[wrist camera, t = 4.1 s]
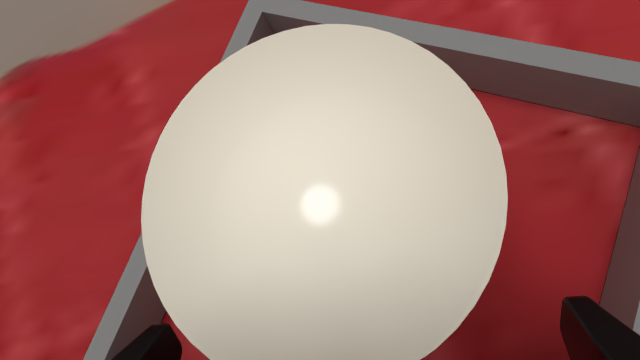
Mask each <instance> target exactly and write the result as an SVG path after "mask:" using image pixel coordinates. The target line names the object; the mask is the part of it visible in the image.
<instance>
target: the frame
mask: <svg viewBox="0 0 640 360" xmlns="http://www.w3.org/2000/svg"><path fill="white" fill-rule="evenodd" d="M320 24H350V25H358V26H365V27H371V28H375V29H379V30H383V31H386V32H390V33H393V34H395V35H398V36H400V37H403V38H405V39H408V40H410V41H412V42H414V43H416V44H417V45H419V46H421V47H423V48H424V49H426V50H428V51H430V52H431V53H432V54H434V55H435V56H436V57H438V58H439V59H440V60H442V61H443V62H444V63H446V64H447V65H448V66H449V67H450V68H451V69H452V70H453V71H454V72H455V73H456V74H457V75H458V76H459V77H460V78H461V79H462V80H463V81H464V82H465V83H466V84H467V85H468V87H469V88H470V89H474V90H479V91H483V92H488V93H492V94H496V95H501V96H505V97H510V98H514V99H518V100H523V101H527V102H532V103H536V104H541V105H545V106H549V107H554V108H558V109H563V110H567V111H572V112H576V113H580V114H585V115H589V116H594V117H598V118H603V119H607V120H611V121H616V122H620V123H625V124H629V125H633V126H638V127H640V62H635V61H629V60H624V59H618V58H613V57H607V56H602V55H596V54H591V53H585V52H580V51H575V50H569V49H564V48H558V47H553V46H547V45H542V44H536V43H531V42H525V41H520V40H514V39H509V38H503V37H498V36H492V35H487V34H481V33H476V32H471V31H465V30H460V29H454V28H449V27H443V26H438V25H432V24H427V23H421V22H416V21H410V20H405V19H399V18H394V17H388V16H383V15H377V14H372V13H367V12H361V11H356V10H350V9H345V8H339V7H334V6H328V5H323V4H317V3H312V2H306V1H301V0H249V1H248V3H247V5H246V8H245V10H244V12H243V14H242V16H241V18H240V21H239V23H238V25H237V27H236V29H235V31H234V34H233V36H232V38H231V40H230V42H229V44H228V47H227V49H226V51H225V53H224V55H223V57H222V60H221V62H222V61H224V60H225V59H226V58H227V57H229V56H231V55H232V54H234V53H236V52H237V51H239V50H241V49H242V48H244V47H246V46H248V45H250V44H252V43H254V42H256V41H258V40H260V39H262V38H265V37H268V36H271V35H273V34H276V33H279V32H282V31H285V30H290V29H294V28H299V27H303V26H311V25H320ZM221 62H220V63H221ZM599 305H600V306H601V307H602V308H604V309H605V310H606V311H608V312H609V313H610V314H612V315H613V316H615V317H616V318H617V319H619V320H620V321H621V322H623V323H624V324H625V325H627V326H628V327H629V328H631V329H632V330H633V331H635V332H636V333H637V334H639V335H640V148H639V152H638V156H637V160H636V164H635V168H634V171H633V175H632V179H631V183H630V187H629V191H628V195H627V199H626V203H625V207H624V210H623V214H622V218H621V222H620V226H619V230H618V234H617V238H616V242H615V245H614V249H613V253H612V257H611V261H610V265H609V269H608V273H607V277H606V281H605V284H604V288H603V292H602V296H601V300H600V304H599ZM165 312H166V309H165V308H164V306H163V304H162V302H161V300H160V298H159V296H158V293H157V291H156V289H155V287H154V285H153V282H152V279H151V276H150V272H149V269H148V266H147V263H146V257H145V252H144V247H143V240H142V233H141V235H140V237H139V240H138V242H137V244H136V246H135V248H134V251H133V253H132V255H131V257H130V259H129V261H128V264H127V266H126V268H125V270H124V272H123V274H122V277H121V279H120V281H119V283H118V285H117V287H116V290H115V292H114V294H113V296H112V298H111V300H110V303H109V305H108V307H107V309H106V311H105V313H104V316H103V318H102V320H101V322H100V324H99V326H98V329H97V331H96V333H95V335H94V337H93V339H92V342H91V344H90V346H89V348H88V350H87V352H86V355H85V357H84V359H83V360H111V359H112V358H113V357H115V356H116V355H117V354H118V353H119V352H120V351H121V350H123V349H124V348H125V347H126V346H127V345H128V344H130V343H131V342H132V341H133V340H134V339H135V338H136V337H138V336H139V335H140V334H141V333H142V332H143V331H145V330H146V329H147V328H148V327H149V326H151V325H153V324H160V323H161V321H162V319H163V317H164V314H165Z"/></svg>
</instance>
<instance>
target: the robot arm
mask: <svg viewBox="0 0 640 360" xmlns="http://www.w3.org/2000/svg"><path fill="white" fill-rule="evenodd" d="M560 330H561V334H562V337H563V340H564V343H565V346H566V349H567V351H568V354H569V357H570V360H640V335H639V334H637V333H636V332H635V331H633V330H632V329H631V328H629V327H628V326H627V325H625V324H624V323H623V322H621V321H620V320H619V319H617V318H616V317H615V316H613V315H612V314H610V313H609V312H608V311H606V310H605V309H604V308H602V307H601V306H600V305H598V304H597V303H596V302H594V301H593V300H592V299H590V298H588V297H586V296H571V297H565V298H564V299H563V301H562V309H561V319H560ZM181 355H182V346H181V343H180V341H179V339H178V338H177V336H176V334H175V333H174V331H173V329H172V327H171V326H170V325H169V324H167V323H161V324H153V325H151V326H149V327H148V328H147V329H146V330H145V331H143V332H142V333H141V334H140V335H139V336H138V337H136V338H135V339H134V340H133V341H132V342H131V343H130V344H128V345H127V346H126V347H125V348H124V349H123V350H121V351H120V352H119V353H118V354H117V355H116V356H115V357H113V358H112V359H111V360H180V359H181Z"/></svg>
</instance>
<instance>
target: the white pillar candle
mask: <svg viewBox="0 0 640 360" xmlns="http://www.w3.org/2000/svg"><path fill="white" fill-rule="evenodd" d="M507 203H508V195H507V180H506V170H505V166H504V161H503V156H502V152H501V147H500V144H499V142H498V139H497V136H496V134H495V131H494V128H493V126H492V123H491V121H490V119H489V118H488V116H487V114H486V112H485V110H484V108H483V107H482V105H481V103H480V101H479V100H478V99H477V97H476V96H475V95H474V93H473V92H472V91H471V89H470V88H469V87H468V85H467V84H466V83H465V82H464V81H463V80H462V79H461V78H460V77H459V76H458V75H457V74H456V73H455V72H454V71H453V70H452V69H451V68H450V67H449V66H448V65H447V64H446V63H444V62H443V61H442V60H440V59H439V58H438V57H436V56H435V55H434V54H432V53H431V52H430V51H428V50H426V49H424V48H423V47H421V46H419V45H417V44H416V43H414V42H412V41H410V40H408V39H405V38H403V37H400V36H398V35H395V34H393V33H390V32H386V31H383V30H379V29H375V28H371V27H365V26H358V25H350V24H320V25H311V26H303V27H299V28H294V29H290V30H285V31H282V32H279V33H276V34H273V35H271V36H268V37H265V38H262V39H260V40H258V41H256V42H254V43H252V44H250V45H248V46H246V47H244V48H242V49H241V50H239V51H237V52H236V53H234V54H232V55H231V56H229V57H227V58H226V59H225V60H224V61H222V62H221V63H220V64H218V65H217V66H216V67H214V68H213V69H212V70H211V71H209V72H208V73H207V74H206V75H205V76H204V77H203V78H202V79H201V80H200V81H199V82H198V83H197V84H196V85H195V86H194V87H193V88H192V89H191V91H190V92H189V93H188V94H187V95H186V96H185V98H184V99H183V100H182V101H181V103H180V104H179V106H178V107H177V109H176V110H175V111H174V113H173V114H172V116H171V117H170V119H169V121H168V123H167V124H166V126H165V128H164V130H163V132H162V134H161V136H160V138H159V140H158V143H157V145H156V147H155V150H154V152H153V155H152V158H151V161H150V165H149V168H148V172H147V175H146V180H145V185H144V191H143V197H142V214H141V225H142V240H143V247H144V252H145V257H146V263H147V266H148V269H149V272H150V276H151V279H152V282H153V285H154V287H155V289H156V291H157V293H158V296H159V298H160V300H161V302H162V304H163V306H164V308H165V309H166V311H167V312H168V314H169V315H170V317H171V318H172V320H173V321H174V323H175V325H176V326H177V327H178V328H179V329H180V331H181V332H182V333H183V334H184V335H185V336H186V337H187V339H188V340H189V341H190V342H191V343H192V344H193V345H194V346H195V347H196V348H197V349H199V350H200V351H201V352H202V353H203V354H204V355H206V356H207V357H208V358H209V359H210V360H421V359H422V358H424V357H425V356H427V355H428V354H429V353H431V352H432V351H434V350H435V349H436V348H437V347H438V346H439V345H441V344H442V343H443V342H444V341H445V340H446V339H447V338H448V337H449V336H450V335H451V334H452V333H453V332H454V331H455V330H456V329H457V328H458V327H459V325H460V324H461V323H462V322H463V320H464V319H465V318H466V316H467V315H468V314H469V313H470V311H471V310H472V309H473V307H474V306H475V305H476V303H477V301H478V299H479V297H480V296H481V294H482V292H483V290H484V289H485V287H486V285H487V283H488V282H489V279H490V277H491V274H492V272H493V269H494V267H495V264H496V261H497V259H498V256H499V254H500V249H501V245H502V240H503V236H504V231H505V227H506V216H507Z"/></svg>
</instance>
